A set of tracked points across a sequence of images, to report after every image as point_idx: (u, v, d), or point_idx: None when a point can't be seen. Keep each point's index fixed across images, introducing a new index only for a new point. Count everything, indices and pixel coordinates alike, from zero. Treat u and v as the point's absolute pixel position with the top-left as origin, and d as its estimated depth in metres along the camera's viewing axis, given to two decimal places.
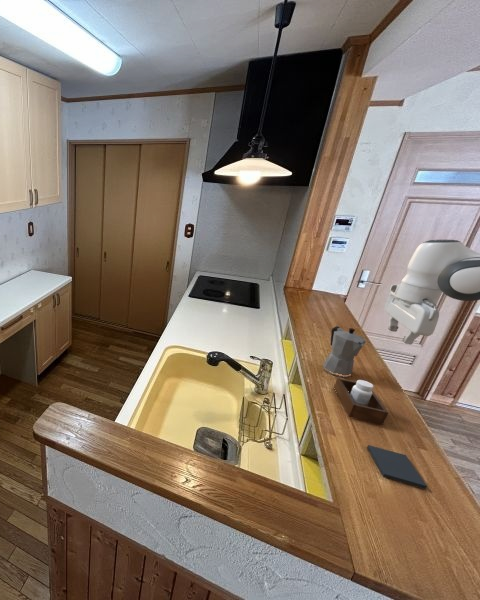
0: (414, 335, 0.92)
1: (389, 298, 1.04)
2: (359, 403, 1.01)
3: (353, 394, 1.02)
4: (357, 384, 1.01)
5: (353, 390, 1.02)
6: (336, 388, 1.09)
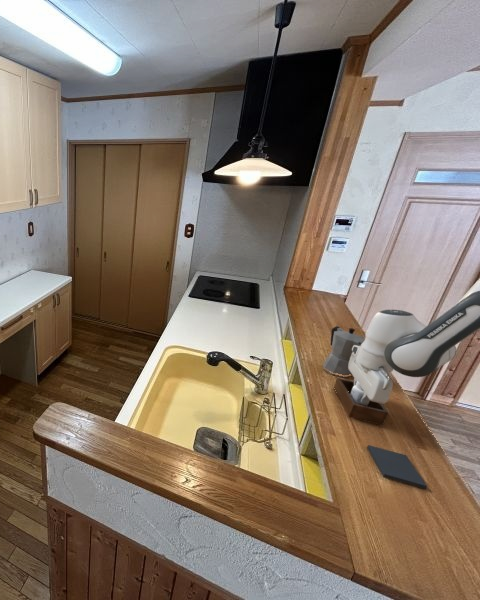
0: (369, 397, 0.97)
1: (352, 357, 1.07)
2: (359, 403, 1.01)
3: (353, 394, 1.02)
4: (357, 384, 1.01)
5: (353, 390, 1.02)
6: (336, 388, 1.09)
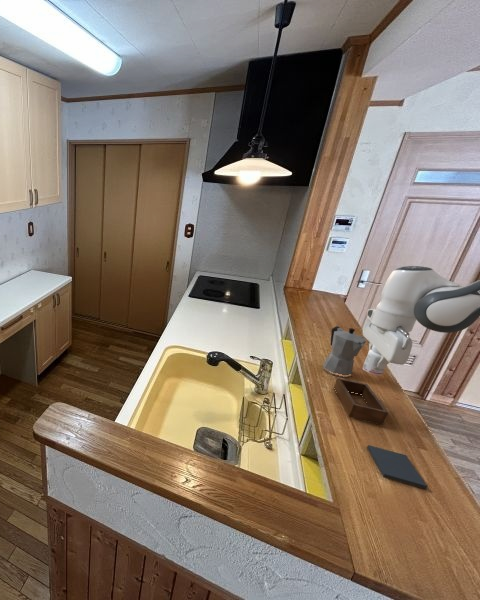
0: (386, 360, 0.92)
1: (366, 322, 1.02)
2: (376, 368, 0.96)
3: (368, 359, 0.97)
4: (373, 348, 0.96)
5: (369, 355, 0.97)
6: (336, 388, 1.09)
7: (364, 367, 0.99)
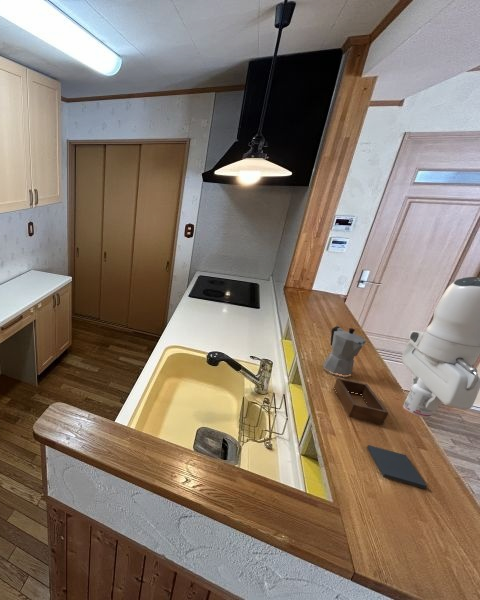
0: (440, 400, 0.71)
1: (408, 347, 0.81)
2: (422, 408, 0.74)
3: (413, 396, 0.75)
4: (419, 382, 0.75)
5: (413, 391, 0.75)
6: (336, 388, 1.09)
7: (406, 406, 0.77)
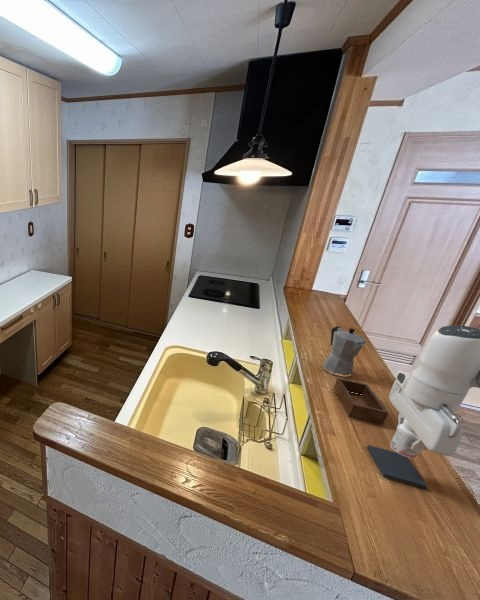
0: None
1: (395, 386, 0.82)
2: (408, 449, 0.76)
3: (399, 436, 0.77)
4: (405, 424, 0.76)
5: (399, 431, 0.77)
6: (336, 388, 1.09)
7: (392, 445, 0.79)
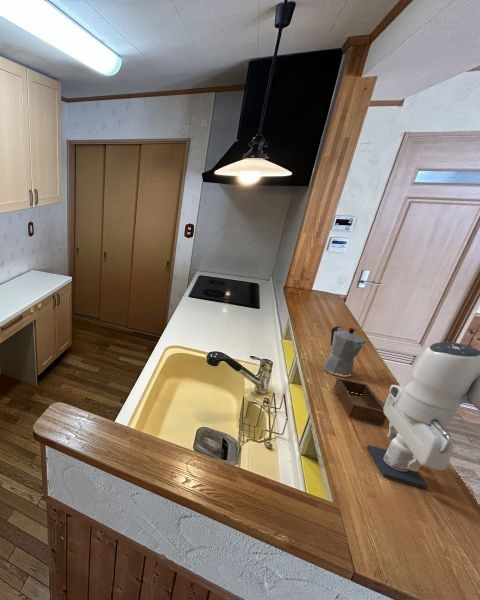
0: None
1: (389, 400, 0.84)
2: (401, 463, 0.78)
3: (392, 450, 0.79)
4: (398, 438, 0.78)
5: (393, 445, 0.79)
6: (336, 388, 1.09)
7: (386, 459, 0.80)
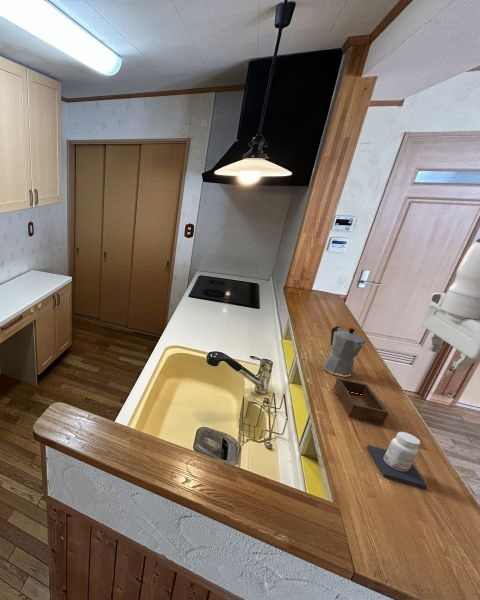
0: (469, 360, 0.71)
1: (429, 310, 0.83)
2: (401, 463, 0.78)
3: (392, 450, 0.79)
4: (398, 438, 0.78)
5: (393, 445, 0.79)
6: (336, 388, 1.09)
7: (386, 459, 0.80)
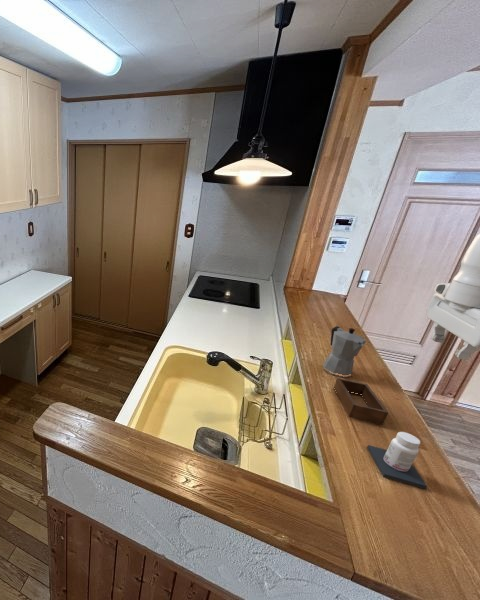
0: (472, 348, 0.72)
1: (433, 301, 0.84)
2: (401, 463, 0.78)
3: (392, 450, 0.79)
4: (398, 438, 0.78)
5: (393, 445, 0.79)
6: (336, 388, 1.09)
7: (386, 459, 0.80)
